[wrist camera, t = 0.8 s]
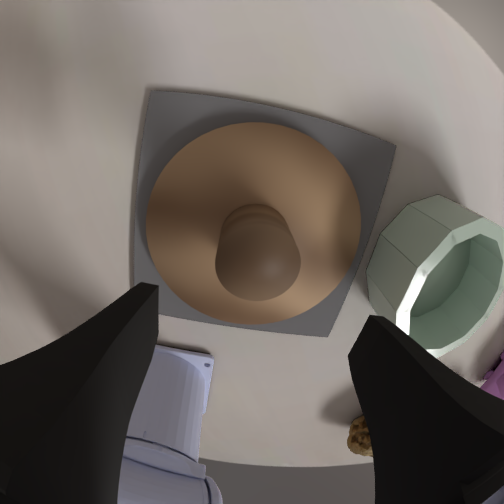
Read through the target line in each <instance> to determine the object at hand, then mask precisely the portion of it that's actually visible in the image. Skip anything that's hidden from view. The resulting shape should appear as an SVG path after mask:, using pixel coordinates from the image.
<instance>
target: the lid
mask: <svg viewBox="0 0 504 504" xmlns="http://www.w3.org/2000/svg"><path fill="white" fill-rule="evenodd" d="M360 232H361V214H360V205H359V201H358V197H357V194H356V190H355V188H354V186H353V183H352V181H351V179H350V177H349V175H348V174H347V172H346V170H345V169H344V167H343V166H342V164H341V163H340V162H339V161H338V160H337V158H336V157H335V156H334V155H333V154H332V153H331V152H330V151H329V150H328V149H326V148H325V147H324V146H323V145H322V144H320V143H319V142H317V141H316V140H314V139H313V138H311V137H310V136H308V135H306V134H304V133H301V132H299V131H297V130H295V129H292V128H288V127H285V126H282V125H277V124H271V123H264V122H246V123H239V124H232V125H228V126H224V127H221V128H217V129H215V130H212V131H210V132H208V133H206V134H203V135H201V136H200V137H198V138H196V139H195V140H193V141H192V142H190V143H189V144H187V145H186V146H185V147H184V148H182V149H181V150H180V151H179V152H178V153H177V154H176V155H175V156H174V157H173V158H172V159H171V160H170V161H169V163H168V164H167V165H166V166H165V168H164V169H163V171H162V172H161V174H160V175H159V177H158V179H157V181H156V183H155V185H154V187H153V190H152V192H151V195H150V199H149V202H148V207H147V214H146V236H147V243H148V248H149V251H150V254H151V258H152V260H153V262H154V265H155V267H156V269H157V271H158V272H159V274H160V276H161V277H162V279H163V280H164V282H165V283H166V284H167V285H168V287H169V288H170V289H171V290H172V291H173V292H174V293H175V294H176V295H177V296H178V297H179V298H180V299H181V300H182V301H184V302H185V303H186V304H188V305H189V306H191V307H192V308H194V309H196V310H197V311H199V312H201V313H203V314H205V315H207V316H210V317H212V318H215V319H218V320H222V321H225V322H230V323H235V324H246V325H256V324H268V323H274V322H278V321H282V320H286V319H289V318H292V317H294V316H297V315H299V314H301V313H303V312H305V311H307V310H309V309H310V308H312V307H314V306H315V305H317V304H318V303H319V302H321V301H322V300H323V299H324V298H326V297H327V296H328V295H329V294H330V293H331V292H332V291H333V290H334V289H335V288H336V287H337V286H338V284H339V283H340V282H341V280H342V279H343V278H344V276H345V275H346V273H347V271H348V270H349V268H350V266H351V264H352V261H353V259H354V257H355V254H356V251H357V248H358V244H359V238H360Z"/></svg>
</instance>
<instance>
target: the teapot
mask: <svg viewBox="0 0 504 504" xmlns="http://www.w3.org/2000/svg"><path fill="white" fill-rule="evenodd" d="M500 358H501V359H502V362H501V363H500V364H499V366H498V367H497V368H496V369H495V371H492V370H490V371H489V372H487V373H486V374H485V376H484V377H483V378H484V379H487V381H486V382H485V383H484V384H483V385H482V386H481V388H480V389H482V390H484V391H486V392H488V393H490V394H492V395H494V396H496V397H498V398H500V399H503V400H504V351H503V352H502V354H501V355H500Z"/></svg>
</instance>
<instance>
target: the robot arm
mask: <svg viewBox="0 0 504 504" xmlns="http://www.w3.org/2000/svg"><path fill="white" fill-rule="evenodd" d="M158 308H159V285H155V284H150V283H145V282H140V283H139V284H137V285H136V286H134V287H133V288H132V289H130V290H129V291H127V292H126V293H125V294H124V295H122V296H121V297H120V298H118V299H117V300H116V301H114V302H113V303H112V304H110V305H109V306H107V307H106V308H105V309H103V310H102V311H101V312H99V313H98V314H97V315H95V316H94V317H92V318H91V319H89V320H88V321H86V322H85V323H83V324H82V325H80V326H79V327H77V328H76V329H74V330H73V331H71V332H69V333H68V334H66V335H64V336H62V337H61V338H59V339H57V340H55V341H53V342H52V343H50V344H48V345H46V346H44V347H42V348H40V349H38V350H36V351H33V352H31V353H29V354H27V355H24V356H22V357H20V358H17V359H15V360H13V361H10V362H8V363H5V364H2V365H0V504H223V501H222V496H221V493H220V491H219V488H218V487H217V485H216V483H215V482H214V481H213V479H212V478H210V477H208V476H205V470H206V466H205V465H203V464H199V463H198V455H199V444H200V433H201V422H202V414H204V413H205V412H206V406H207V399H208V393H209V387H210V381H211V375H212V370H213V364H214V357H213V356H212V355H209V354H203V353H197V352H191V351H186V350H180V349H175V348H170V347H165V346H160V345H156V341H157V337H158V334H159V330H158ZM348 360H349V366H350V371H351V376H352V381H353V384H354V387H355V390H356V393H357V396H358V399H359V402H360V405H361V408H362V412H363V415H364V418H365V421H366V424H367V427H368V431H369V435H370V440H371V446H372V453H373V460H374V471H375V504H504V400H503V399H500V398H498V397H496V396H494V395H492V394H490V393H488V392H486V391H484V390H482V389H480V388H478V387H477V386H475V385H473V384H472V383H470V382H468V381H467V380H465V379H464V378H462V377H461V376H459V375H458V374H456V373H455V372H453V371H452V370H451V369H449V368H448V367H447V366H445V365H444V364H443V363H442V362H440V361H439V360H438V359H436V358H435V357H434V356H433V355H431V354H430V353H429V352H428V351H427V350H425V349H424V348H423V347H422V346H421V345H419V344H418V343H417V342H416V341H415V340H413V339H412V338H411V337H410V336H409V335H407V334H406V333H405V332H404V331H403V330H401V329H400V328H399V327H398V326H396V325H395V324H394V323H392V322H391V321H390V320H388V319H387V318H385V317H383V316H375V315H369V317H368V319H367V321H366V323H365V325H364V327H363V329H362V331H361V333H360V334H359V336H358V338H357V340H356V342H355V344H354V345H353V347H352V349H351V351H350V353H349V354H348ZM207 363H209V364H207Z"/></svg>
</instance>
